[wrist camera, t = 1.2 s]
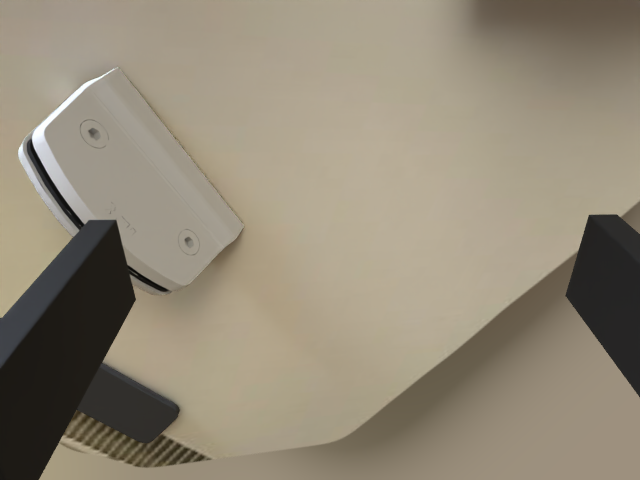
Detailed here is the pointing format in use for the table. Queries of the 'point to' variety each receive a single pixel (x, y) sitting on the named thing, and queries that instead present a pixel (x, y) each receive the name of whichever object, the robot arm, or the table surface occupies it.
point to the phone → (127, 405)
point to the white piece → (129, 183)
